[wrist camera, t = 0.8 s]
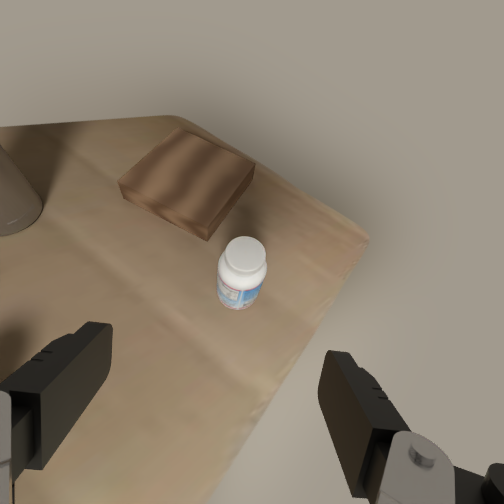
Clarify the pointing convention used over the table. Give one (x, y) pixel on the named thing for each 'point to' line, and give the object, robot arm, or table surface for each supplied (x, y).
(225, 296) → the pill bottle
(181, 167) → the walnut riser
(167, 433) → the table surface
